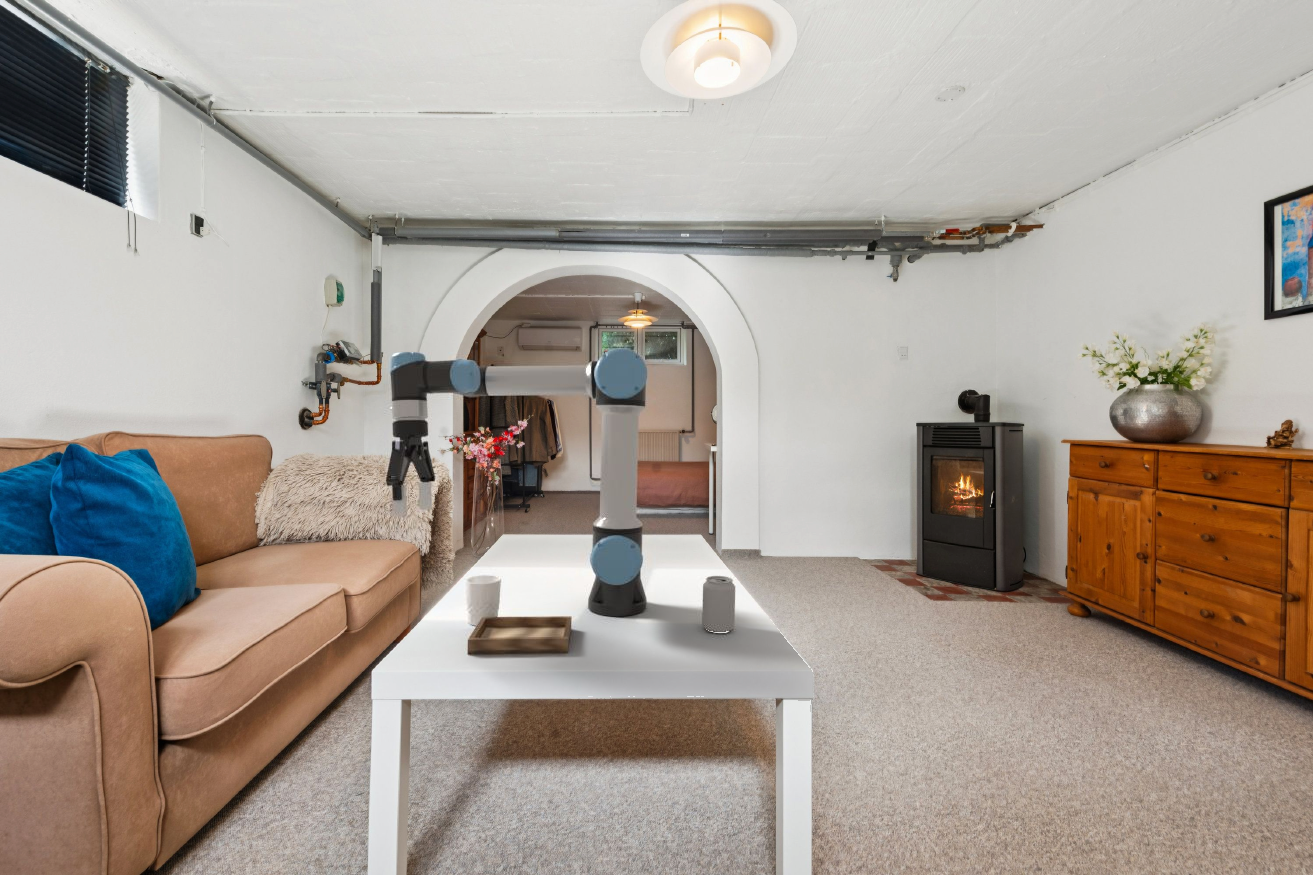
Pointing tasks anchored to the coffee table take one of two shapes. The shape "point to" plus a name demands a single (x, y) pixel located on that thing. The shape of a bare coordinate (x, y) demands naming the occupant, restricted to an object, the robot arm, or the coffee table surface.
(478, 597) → the white cup
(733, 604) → the can
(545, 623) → the walnut tray
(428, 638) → the coffee table surface
